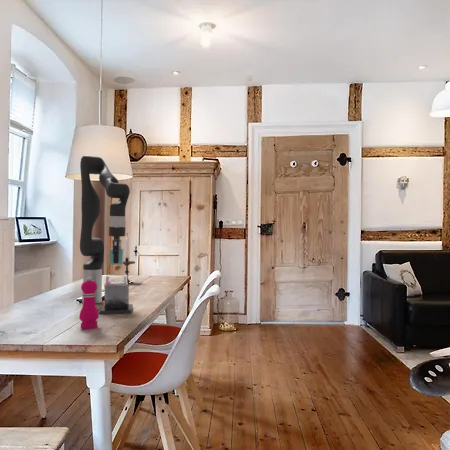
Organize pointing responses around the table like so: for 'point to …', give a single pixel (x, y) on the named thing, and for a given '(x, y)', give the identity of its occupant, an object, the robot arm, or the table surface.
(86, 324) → the pepper mill
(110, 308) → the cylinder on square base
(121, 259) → the turquoise cube
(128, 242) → the candlestick
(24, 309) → the table surface
